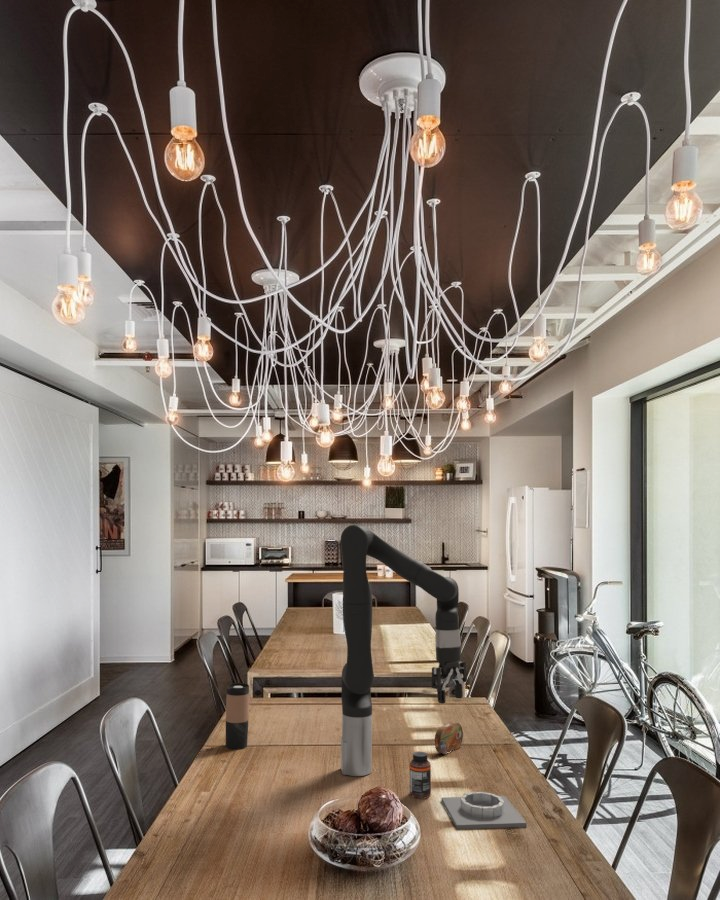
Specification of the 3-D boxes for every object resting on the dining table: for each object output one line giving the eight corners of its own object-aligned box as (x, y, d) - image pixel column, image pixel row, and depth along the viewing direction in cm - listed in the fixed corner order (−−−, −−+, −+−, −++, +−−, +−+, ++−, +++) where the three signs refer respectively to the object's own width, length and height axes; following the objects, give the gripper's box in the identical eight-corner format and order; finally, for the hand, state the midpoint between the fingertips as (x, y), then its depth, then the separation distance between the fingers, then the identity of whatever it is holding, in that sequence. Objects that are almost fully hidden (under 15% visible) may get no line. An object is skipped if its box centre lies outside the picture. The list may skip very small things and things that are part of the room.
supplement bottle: (417, 789, 209) (417, 748, 210) (434, 794, 205) (435, 753, 207) (405, 795, 205) (405, 753, 206) (422, 800, 201) (423, 758, 202)
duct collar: (467, 818, 187) (467, 808, 187) (456, 802, 198) (456, 792, 198) (508, 817, 188) (508, 807, 188) (496, 801, 199) (496, 791, 199)
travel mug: (250, 743, 249) (251, 683, 251) (244, 750, 242) (246, 688, 244) (228, 742, 250) (230, 682, 252) (222, 749, 243) (223, 687, 244)
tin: (441, 757, 238) (441, 730, 238) (432, 755, 239) (432, 729, 240) (463, 746, 250) (463, 720, 250) (455, 744, 251) (455, 719, 252)
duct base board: (457, 829, 183) (457, 825, 183) (441, 801, 201) (441, 797, 201) (526, 826, 185) (526, 822, 185) (504, 799, 203) (504, 795, 203)
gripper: (452, 641, 226) (454, 695, 224) (423, 646, 216) (425, 703, 214) (472, 642, 221) (474, 698, 219) (443, 648, 211) (446, 706, 209)
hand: (450, 700), depth 217 cm, fingers open, 8 cm apart
